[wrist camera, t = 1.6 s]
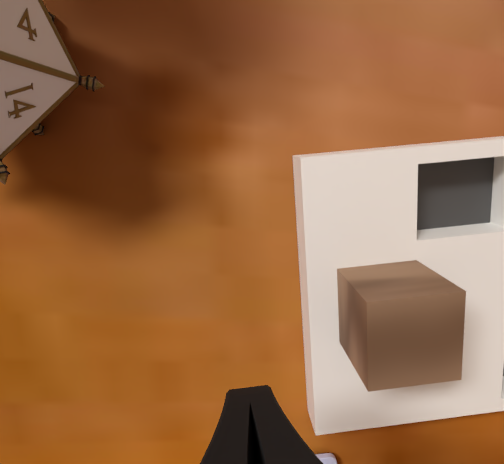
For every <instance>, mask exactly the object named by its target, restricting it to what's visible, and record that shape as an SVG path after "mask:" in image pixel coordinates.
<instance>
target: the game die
mask: <svg viewBox="0 0 504 464" xmlns="http://www.w3.org/2000/svg"><path fill="white" fill-rule="evenodd" d="M54 19H55V16H54V15H52V14H51V13H49V12H48V11H47V9H46V7H45V5H44V3H43V1H42V0H0V182H2V183H3V184H5V183H6V180H7V177H8V174H10V173H9V172H8V171H7V169H6V168H7V166H6V165H4V164H3V163H2V159H3V158H4V157H5V156H6V155H7V154H8V153H9V152H10V151H11V150H12V149H13V148H14V147H15V146H16V145H17V144H18V143H20V142H21V141H22V140H23V139H24V138H25V137H26V136H27V135H28V134H29V133H30V132H31V131H32V132H33V133H34V134H35V135H44V132H43V129H44V126H42V125H41V123H40V122H41V121H42V120H43V119H44V118H46V117H47V116H48V115H49V114H50V113H51V112H52V111H53V110H54V109H55V108H56V107H57V106H58V105H59V104H60V103H61V102H62V101H63V100H64V99H65V98H66V97H67V96H68V95H69V94H70V93H72V92H73V91H74V90H75V89H76V88H77V87H78V86H79V85H82V86H84V87H86V89H87V90H88V89H91V90H93V91H94V90H96V89H99V88H102V87H105V86H104V85H103V84H102V83H101V82H100V81H99V80H98V79H96V76H94V77H90V75H88V76H81V75H80V74H79V72H78V70H77V68H76V66H75V64H74V62H73V60H72V58H71V56H70V54H69V52H68V50H67V48H66V46H65V44H64V42H63V40H62V38H61V36H60V34H59V32H58V30H57V28H56V27H55V25H54Z"/></svg>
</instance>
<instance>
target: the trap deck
mask: <svg viewBox="0 0 504 464" xmlns="http://www.w3.org/2000/svg"><path fill="white" fill-rule="evenodd" d="M293 172H294V189H295V205H296V222H297V239H298V256H299V272H300V289H301V306H302V322H303V339H304V356H305V373H306V389H307V406H308V413H309V416H310V419H311V422H312V425H313V429H314V432H315V435H323V434H330V433H338V432H346V431H353V430H361V429H368V428H376V427H384V426H391V425H399V424H406V423H414V422H422V421H429V420H437V419H444V418H452V417H460V416H467V415H475V414H482V413H490V412H497V411H504V136H500V137H489V138H478V139H467V140H456V141H445V142H435V143H424V144H413V145H402V146H391V147H381V148H370V149H359V150H348V151H337V152H327V153H316V154H305V155H294V156H293ZM412 260H417V261H419V262H420V263H422V264H423V265H425V266H427V267H428V268H430V269H431V270H433V271H435V272H436V273H438V274H439V275H441V276H443V277H444V278H446V279H447V280H449V281H451V282H452V283H454V284H455V285H457V286H459V287H460V288H462V289H463V290H465V291H466V302H465V321H464V340H463V359H462V378H461V380H457V381H449V382H441V383H433V384H425V385H417V386H409V387H401V388H394V389H386V390H378V391H370V392H368V391H367V389H366V387H365V386H364V384H363V382H362V380H361V379H360V377H359V375H358V373H357V372H356V370H355V368H354V366H353V365H352V363H351V361H350V359H349V358H348V356H347V354H346V353H345V351H344V349H343V347H342V346H341V344H340V342H339V315H338V286H337V269H339V268H348V267H357V266H366V265H375V264H385V263H394V262H403V261H412Z"/></svg>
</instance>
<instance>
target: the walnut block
mask: <svg viewBox="0 0 504 464" xmlns="http://www.w3.org/2000/svg"><path fill="white" fill-rule="evenodd" d="M337 286H338V315H339V342H340V344H341V346H342V347H343V349H344V351H345V353H346V354H347V356H348V358H349V359H350V361H351V363H352V365H353V366H354V368H355V370H356V372H357V373H358V375H359V377H360V379H361V380H362V382H363V384H364V386H365V387H366V389H367V391H368V392H370V391H378V390H386V389H394V388H401V387H409V386H417V385H425V384H433V383H441V382H449V381H457V380H461V378H462V359H463V340H464V321H465V302H466V291H465V290H463V289H462V288H460V287H459V286H457V285H455V284H454V283H452V282H451V281H449V280H447V279H446V278H444V277H443V276H441V275H439V274H438V273H436V272H435V271H433V270H431V269H430V268H428V267H427V266H425V265H423V264H422V263H420V262H419V261H417V260H412V261H403V262H394V263H385V264H375V265H366V266H357V267H348V268H339V269H337Z"/></svg>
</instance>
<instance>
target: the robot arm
mask: <svg viewBox="0 0 504 464" xmlns="http://www.w3.org/2000/svg"><path fill="white" fill-rule="evenodd" d="M200 464H337V461H336V458H335V456H334V455H333V454H331V453H324V454H316V455H315V454H314V453H313V452H312V450H311V449H310V448H309V447H308V445H307V444H306V443H305V442H304V441H303V439H302V438H301V437H300V435H299V434H298V433H297V431H296V430H295V429H294V427H293V426H292V424H291V423H290V421H289V420H288V419H287V417H286V416H285V414H284V412H283V411H282V409H281V407H280V406H279V404H278V402H277V400H276V399H275V397H274V395H273V392H272V390H271V388H270V387H269V386H268V385H264V386H256V387H248V388H240V389H232V390H229V391H228V392H227V393H226V399H225V403H224V407H223V410H222V413H221V416H220V419H219V422H218V425H217V427H216V430H215V432H214V435H213V437H212V440H211V442H210V444H209V446H208V448H207V450H206V453H205V455H204V457H203V459H202V461H201V463H200Z"/></svg>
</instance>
